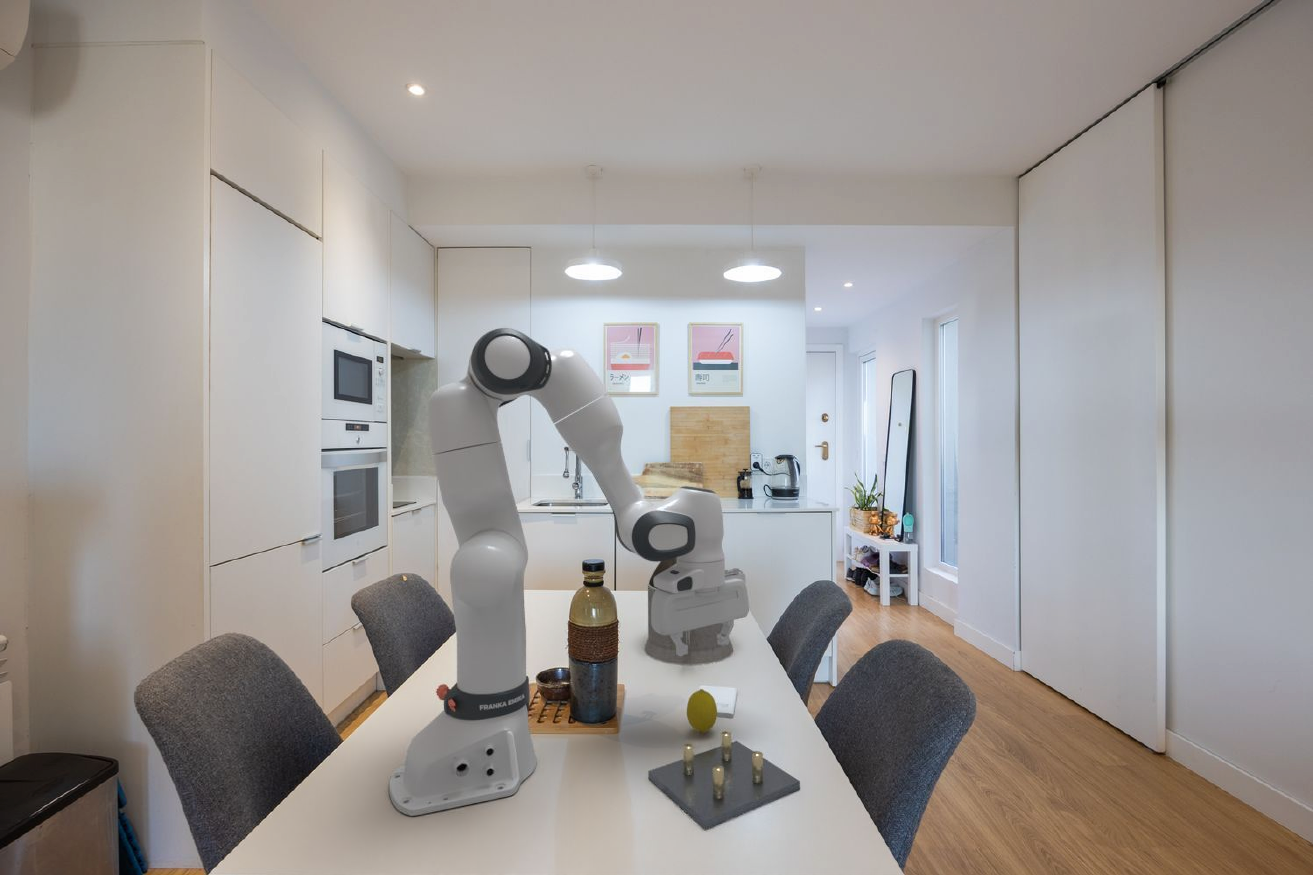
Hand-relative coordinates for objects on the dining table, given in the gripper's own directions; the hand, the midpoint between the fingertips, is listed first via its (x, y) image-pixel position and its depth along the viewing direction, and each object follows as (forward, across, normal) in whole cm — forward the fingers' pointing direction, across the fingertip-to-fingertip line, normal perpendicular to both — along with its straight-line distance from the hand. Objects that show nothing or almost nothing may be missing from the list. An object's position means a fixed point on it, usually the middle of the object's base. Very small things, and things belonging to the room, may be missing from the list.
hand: (703, 649), depth 109 cm
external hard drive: (+16, -9, -9) cm, 21 cm away
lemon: (+15, +1, 0) cm, 15 cm away
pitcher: (+16, -21, -36) cm, 45 cm away
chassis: (+15, +8, +15) cm, 23 cm away
